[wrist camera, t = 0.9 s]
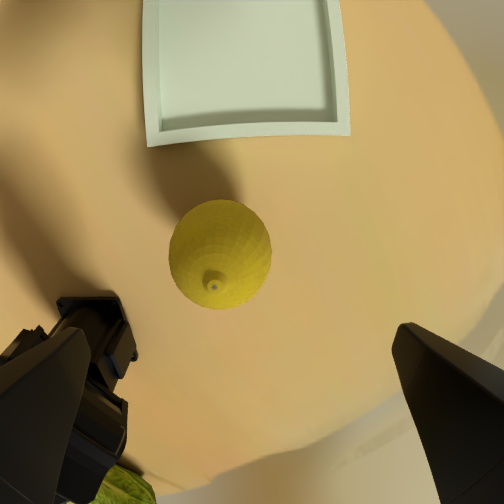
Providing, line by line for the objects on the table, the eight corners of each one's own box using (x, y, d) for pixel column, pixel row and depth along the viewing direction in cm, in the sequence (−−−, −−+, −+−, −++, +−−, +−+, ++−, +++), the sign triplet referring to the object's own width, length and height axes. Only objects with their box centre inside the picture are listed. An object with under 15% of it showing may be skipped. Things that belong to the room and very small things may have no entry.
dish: (155, 145, 18) (147, 147, 16) (151, -11, 13) (144, -21, 11) (340, 135, 18) (350, 136, 16) (326, -19, 13) (333, -30, 11)
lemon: (198, 176, 18) (170, 205, 11) (278, 205, 19) (301, 252, 12) (173, 251, 20) (141, 316, 13) (247, 276, 21) (252, 351, 14)
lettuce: (19, 417, 32) (41, 385, 30) (128, 492, 38) (174, 476, 35) (-16, 472, 18) (-6, 455, 16) (115, 551, 24) (164, 550, 21)
